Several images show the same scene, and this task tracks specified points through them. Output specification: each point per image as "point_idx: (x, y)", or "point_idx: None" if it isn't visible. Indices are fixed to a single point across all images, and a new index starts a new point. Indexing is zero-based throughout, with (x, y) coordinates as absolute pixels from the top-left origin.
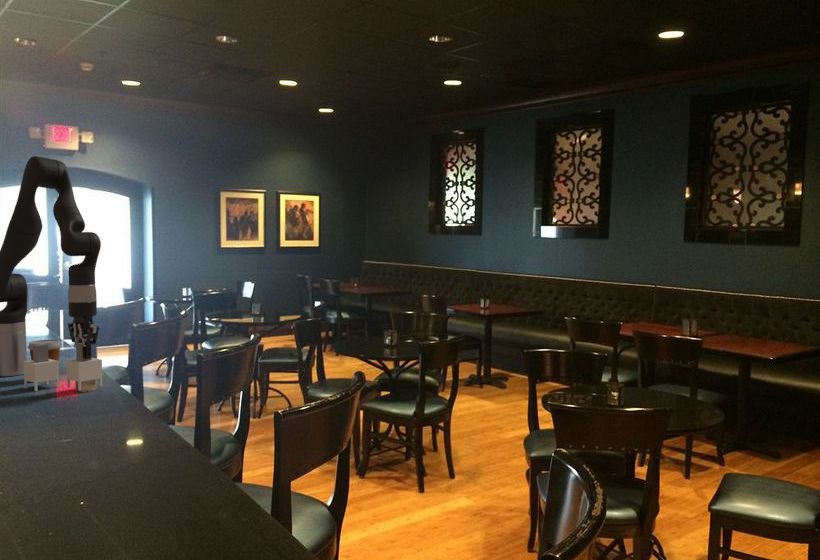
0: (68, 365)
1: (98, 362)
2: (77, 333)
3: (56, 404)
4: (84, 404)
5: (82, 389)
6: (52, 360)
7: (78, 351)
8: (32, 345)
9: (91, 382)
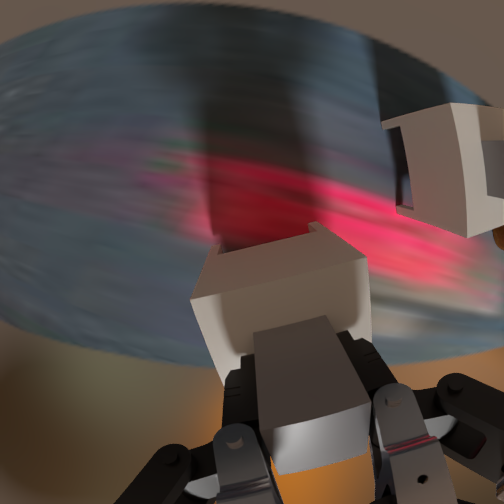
0: (330, 253)
1: None
2: (392, 500)
3: (90, 136)
4: (46, 217)
5: None
6: (488, 216)
7: (308, 364)
8: None
9: None
